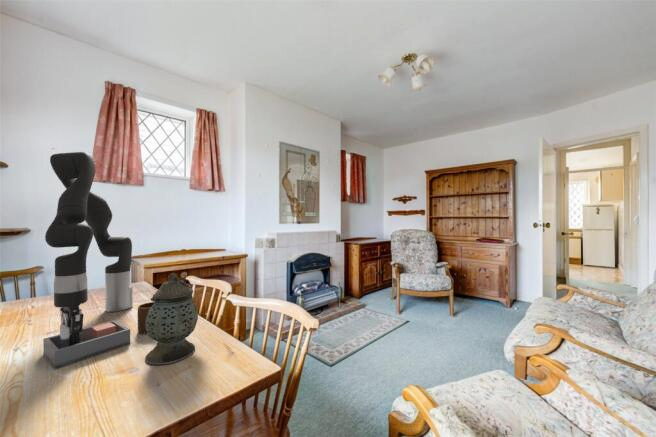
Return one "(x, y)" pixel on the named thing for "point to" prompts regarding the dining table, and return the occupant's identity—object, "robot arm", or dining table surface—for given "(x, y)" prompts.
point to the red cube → (103, 330)
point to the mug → (143, 316)
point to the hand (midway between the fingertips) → (71, 343)
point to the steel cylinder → (66, 336)
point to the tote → (85, 346)
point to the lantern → (171, 322)
